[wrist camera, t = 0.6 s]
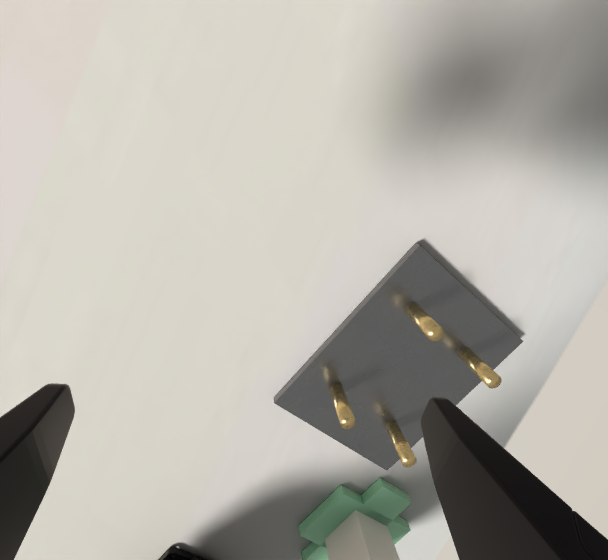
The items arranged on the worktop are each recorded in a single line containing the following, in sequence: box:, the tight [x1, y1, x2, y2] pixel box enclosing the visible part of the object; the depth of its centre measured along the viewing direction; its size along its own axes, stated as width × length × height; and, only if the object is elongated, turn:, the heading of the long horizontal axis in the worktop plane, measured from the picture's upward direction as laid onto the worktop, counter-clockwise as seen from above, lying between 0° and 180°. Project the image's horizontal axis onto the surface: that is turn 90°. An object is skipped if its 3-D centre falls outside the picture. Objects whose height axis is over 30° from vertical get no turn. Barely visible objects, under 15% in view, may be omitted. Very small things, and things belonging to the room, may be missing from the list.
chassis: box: [274, 243, 523, 470], centre depth 26 cm, size 15×12×4 cm
